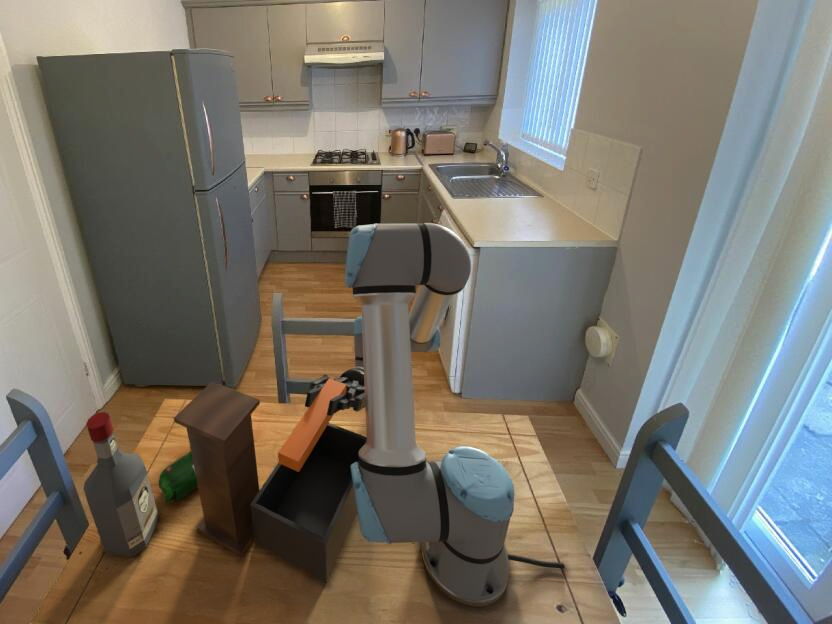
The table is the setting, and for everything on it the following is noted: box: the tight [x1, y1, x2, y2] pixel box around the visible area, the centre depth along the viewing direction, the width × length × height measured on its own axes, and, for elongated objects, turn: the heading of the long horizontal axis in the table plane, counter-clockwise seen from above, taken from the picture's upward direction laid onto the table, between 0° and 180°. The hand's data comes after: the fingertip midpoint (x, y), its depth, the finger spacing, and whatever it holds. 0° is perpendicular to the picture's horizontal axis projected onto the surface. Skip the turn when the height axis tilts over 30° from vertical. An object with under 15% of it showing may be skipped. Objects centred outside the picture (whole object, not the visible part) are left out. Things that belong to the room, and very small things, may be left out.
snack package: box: [158, 451, 198, 504], centre depth 94 cm, size 7×16×5 cm, turn 131°
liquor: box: [83, 411, 160, 558], centre depth 78 cm, size 9×9×30 cm
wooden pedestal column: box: [173, 381, 261, 558], centre depth 80 cm, size 11×10×30 cm
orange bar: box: [277, 378, 346, 472], centre depth 79 cm, size 4×20×2 cm, turn 153°
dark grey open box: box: [250, 422, 367, 583], centre depth 86 cm, size 16×24×11 cm, turn 153°
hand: (318, 403), depth 79 cm, fingers closed on orange bar, 4 cm apart
